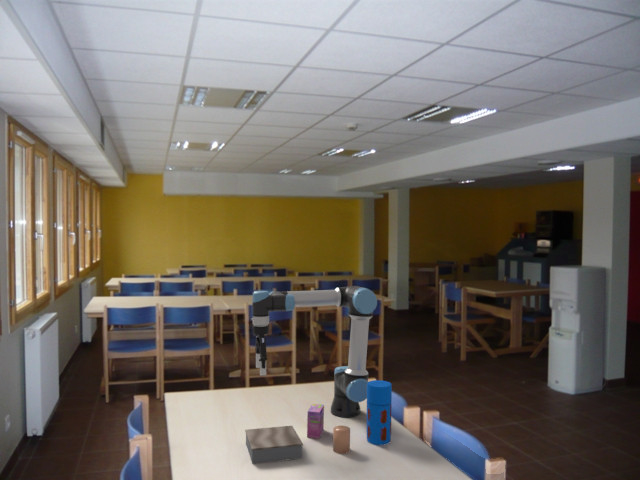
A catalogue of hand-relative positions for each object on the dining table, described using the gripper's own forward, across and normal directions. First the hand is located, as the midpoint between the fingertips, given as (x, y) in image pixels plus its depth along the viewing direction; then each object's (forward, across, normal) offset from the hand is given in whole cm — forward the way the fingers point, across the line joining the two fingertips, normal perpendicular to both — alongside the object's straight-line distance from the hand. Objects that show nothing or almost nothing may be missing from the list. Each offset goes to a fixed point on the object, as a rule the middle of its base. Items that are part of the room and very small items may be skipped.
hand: (260, 371), depth 239 cm
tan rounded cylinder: (+28, +29, +30) cm, 50 cm away
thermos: (+28, +23, +49) cm, 61 cm away
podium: (+27, +23, +2) cm, 36 cm away
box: (+28, +9, +23) cm, 37 cm away
